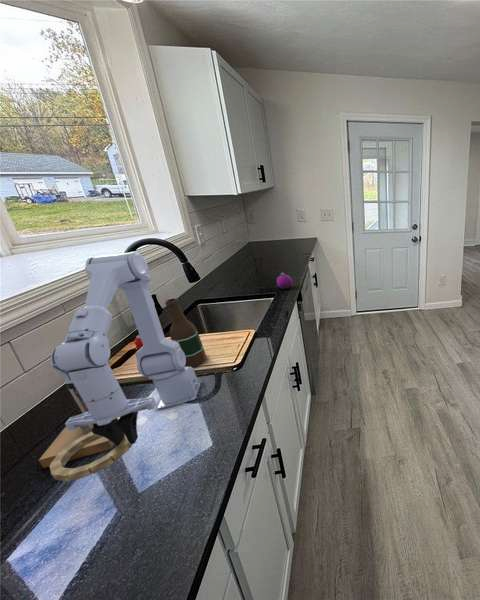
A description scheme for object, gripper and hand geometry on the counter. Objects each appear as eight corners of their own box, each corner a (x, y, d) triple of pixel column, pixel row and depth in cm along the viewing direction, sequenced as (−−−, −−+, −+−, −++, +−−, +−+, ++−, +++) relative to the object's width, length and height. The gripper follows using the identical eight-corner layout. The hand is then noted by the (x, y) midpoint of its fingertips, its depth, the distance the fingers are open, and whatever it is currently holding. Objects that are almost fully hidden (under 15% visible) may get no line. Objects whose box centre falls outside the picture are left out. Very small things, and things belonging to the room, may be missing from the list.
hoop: (143, 422, 75) (141, 417, 74) (121, 466, 64) (118, 460, 63) (74, 440, 71) (71, 435, 70) (37, 491, 59) (33, 485, 59)
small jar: (91, 416, 88) (71, 381, 83) (78, 414, 89) (58, 379, 84) (109, 404, 92) (91, 370, 87) (96, 402, 93) (78, 369, 88)
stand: (132, 413, 88) (123, 396, 85) (112, 448, 76) (101, 430, 74) (73, 429, 83) (62, 411, 81) (43, 468, 72) (30, 449, 70)
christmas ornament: (291, 285, 182) (287, 268, 178) (295, 288, 175) (291, 271, 171) (276, 288, 178) (272, 271, 174) (280, 292, 171) (276, 275, 167)
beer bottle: (198, 368, 107) (174, 304, 98) (176, 369, 107) (150, 305, 98) (211, 355, 114) (190, 294, 105) (190, 356, 114) (168, 296, 105)
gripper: (44, 416, 58) (77, 468, 63) (137, 393, 63) (161, 444, 68) (65, 394, 64) (94, 443, 69) (148, 374, 69) (170, 422, 74)
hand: (128, 442), depth 69 cm, fingers closed on hoop, 1 cm apart
